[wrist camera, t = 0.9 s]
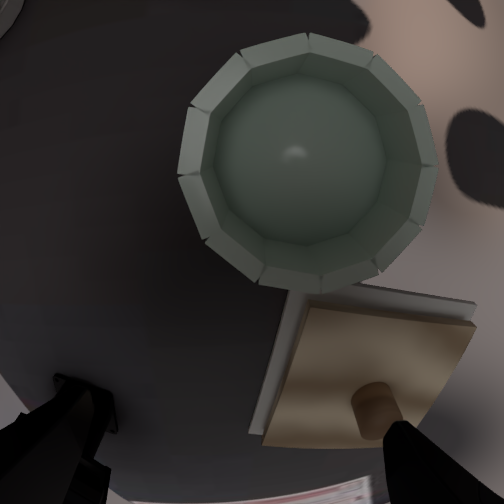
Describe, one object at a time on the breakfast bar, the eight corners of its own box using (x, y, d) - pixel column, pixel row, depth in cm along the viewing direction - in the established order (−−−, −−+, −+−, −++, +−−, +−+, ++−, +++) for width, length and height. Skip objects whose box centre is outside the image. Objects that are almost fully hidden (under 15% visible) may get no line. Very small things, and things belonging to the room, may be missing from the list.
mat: (398, 432, 26) (400, 436, 26) (248, 428, 25) (248, 433, 25) (473, 301, 21) (477, 305, 20) (293, 271, 20) (294, 275, 20)
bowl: (367, 270, 20) (396, 306, 15) (187, 237, 19) (166, 267, 15) (409, 95, 16) (452, 85, 11) (221, 47, 16) (209, 16, 11)
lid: (396, 430, 25) (411, 469, 20) (261, 428, 25) (261, 475, 20) (464, 314, 21) (498, 349, 16) (305, 291, 20) (319, 338, 15)
